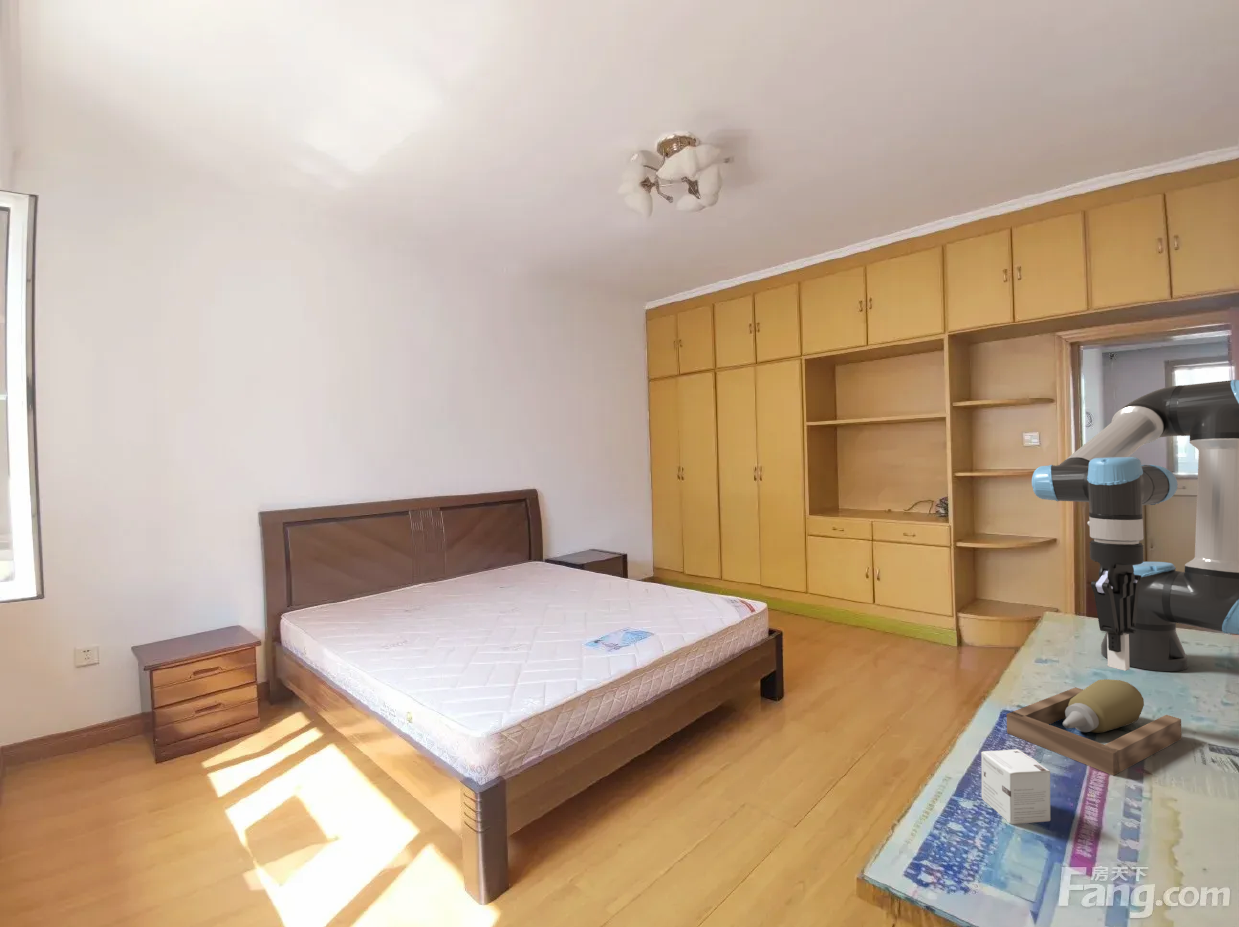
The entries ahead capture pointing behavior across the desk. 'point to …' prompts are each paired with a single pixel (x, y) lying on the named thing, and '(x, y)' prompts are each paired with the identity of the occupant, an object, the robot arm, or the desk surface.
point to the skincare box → (1016, 786)
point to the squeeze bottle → (1104, 707)
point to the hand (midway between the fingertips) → (1118, 667)
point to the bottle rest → (1108, 757)
